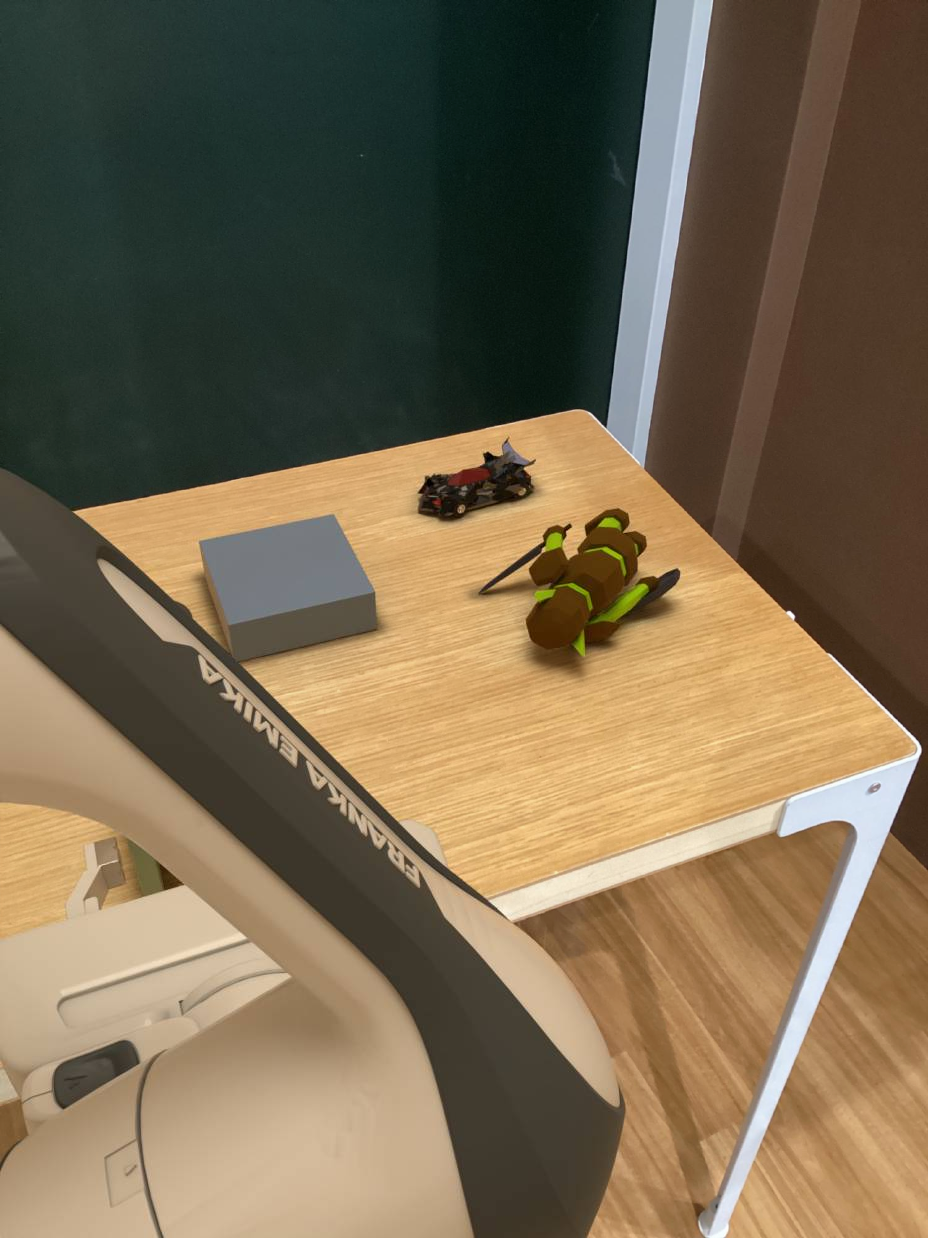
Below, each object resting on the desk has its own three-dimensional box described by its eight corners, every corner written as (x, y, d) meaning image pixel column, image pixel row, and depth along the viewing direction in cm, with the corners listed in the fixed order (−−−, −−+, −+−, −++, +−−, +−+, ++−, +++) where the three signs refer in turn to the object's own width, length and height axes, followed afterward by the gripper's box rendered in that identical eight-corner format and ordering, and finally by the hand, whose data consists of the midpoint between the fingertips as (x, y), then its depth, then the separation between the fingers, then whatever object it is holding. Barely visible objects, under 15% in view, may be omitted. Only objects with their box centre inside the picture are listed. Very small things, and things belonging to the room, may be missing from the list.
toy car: (540, 496, 105) (543, 460, 102) (432, 529, 100) (432, 492, 98) (508, 467, 109) (510, 432, 106) (403, 497, 104) (402, 461, 102)
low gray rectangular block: (234, 663, 85) (227, 624, 83) (204, 577, 94) (198, 540, 91) (377, 629, 89) (375, 591, 86) (336, 549, 97) (333, 513, 95)
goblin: (498, 546, 98) (437, 629, 87) (618, 469, 90) (569, 549, 78) (566, 630, 101) (515, 722, 89) (689, 562, 92) (651, 654, 80)
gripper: (513, 948, 43) (401, 721, 53) (-25, 1132, 37) (-37, 838, 47) (506, 1030, 47) (404, 805, 57) (21, 1208, 41) (0, 922, 51)
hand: (201, 820), depth 52 cm, fingers open, 8 cm apart
